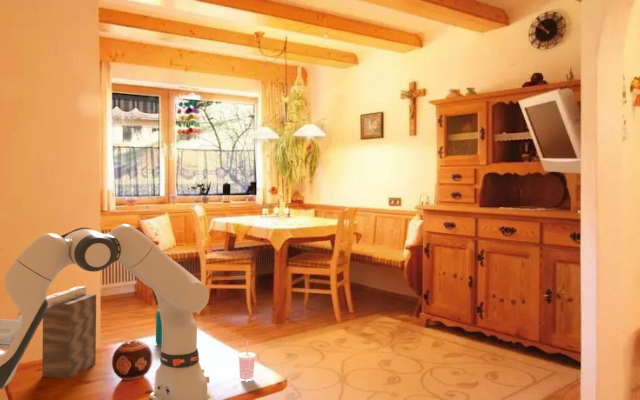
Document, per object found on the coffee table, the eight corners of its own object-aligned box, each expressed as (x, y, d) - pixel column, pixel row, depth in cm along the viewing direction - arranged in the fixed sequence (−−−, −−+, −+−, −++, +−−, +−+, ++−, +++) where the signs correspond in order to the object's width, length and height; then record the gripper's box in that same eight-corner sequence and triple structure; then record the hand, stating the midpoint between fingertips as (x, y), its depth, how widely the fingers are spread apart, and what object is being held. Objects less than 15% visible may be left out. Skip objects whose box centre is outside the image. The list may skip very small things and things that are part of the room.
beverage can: (172, 343, 224) (172, 308, 224) (166, 347, 219) (167, 311, 218) (158, 342, 225) (159, 307, 224) (153, 346, 219) (153, 310, 219)
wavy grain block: (68, 379, 182) (69, 304, 181) (42, 376, 184) (42, 302, 183) (95, 363, 198) (96, 294, 197) (71, 360, 200) (71, 292, 199)
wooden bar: (42, 310, 173) (42, 301, 173) (33, 309, 173) (33, 300, 173) (86, 294, 197) (86, 286, 196) (78, 293, 197) (78, 285, 197)
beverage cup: (252, 375, 191) (253, 337, 190) (257, 381, 185) (258, 342, 185) (235, 377, 188) (236, 339, 187) (240, 384, 183) (241, 344, 182)
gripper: (7, 340, 146) (37, 306, 158) (-57, 334, 150) (-23, 301, 161) (15, 356, 150) (44, 321, 161) (-48, 350, 153) (-15, 316, 164)
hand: (10, 311), depth 161 cm, fingers open, 8 cm apart
